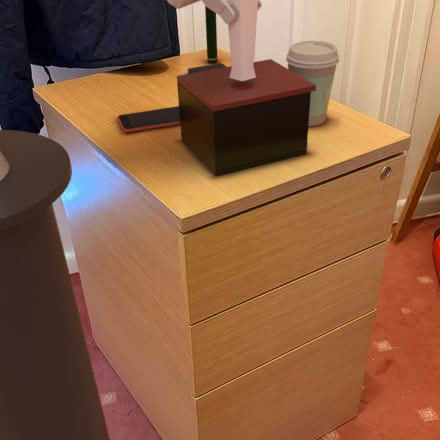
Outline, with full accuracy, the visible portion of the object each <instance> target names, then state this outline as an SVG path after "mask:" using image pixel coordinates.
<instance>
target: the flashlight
mask: <svg viewBox="0 0 440 440" xmlns="http://www.w3.org/2000/svg"><path fill="white" fill-rule="evenodd" d="M204 10H205V11H204V12H205V15H204V16H205V33H206V34H205V36H206V37H205V38H206V58H207V59H206V60H207V63H208V64H217V62H218V34H217V33H218V31H217V13H215V12H214V11H212V10H211V9H209V8H208V7H206V6H205V5H204Z"/></svg>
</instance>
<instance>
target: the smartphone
mask: <svg viewBox="0 0 440 440" xmlns="http://www.w3.org/2000/svg"><path fill="white" fill-rule="evenodd" d="M117 121H118V123H119V126H120V128H121V130H122V131H123V132H124V133H132V132H133V133H134V132H139V131H144V130H151V129H158V128H165V127H170V126H177V125H180V114H179V105H177V106H171V107H163V108H157V109H150V110H144V111H138V112H131V113H123V114H119V115H118V116H117Z"/></svg>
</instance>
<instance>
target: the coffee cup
mask: <svg viewBox="0 0 440 440" xmlns="http://www.w3.org/2000/svg"><path fill="white" fill-rule="evenodd" d="M339 58H340V55H339V53H338V48H337V46H336V44H333V43H331V42H328V41H323V40H302V41H298V42H295V43H293V44H291V45H290V47H289V50H288V53H287V54H286V57H285V61H286V63H287V69H289V70H290V71H292V72H294V73H296V74H297V75H299V76H301V77H302V78H304V79H306V80H308V81H309V82H311V83H313V84H314V85H316V91H312V92H311V98H310V112H309V125H308V127H315V126H320V125H321V124H324V122H325V121H326V116H327V113H328V107H329V103H330V98H331V95H332V94H331V93H332V88H333V83H334V78H335V73H336V69H337V65H338V63H340V59H339Z"/></svg>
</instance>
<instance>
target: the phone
mask: <svg viewBox="0 0 440 440" xmlns="http://www.w3.org/2000/svg"><path fill="white" fill-rule="evenodd" d="M224 67H228V66H227V65H225V64H224V63H223V62H218V63H217V62H216V63H211V64H207V65H200V66H195V67H191V68H190V67H189V68H187V74H191V73H196V72H202V71H207V70H213V69H219V68H224Z"/></svg>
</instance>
